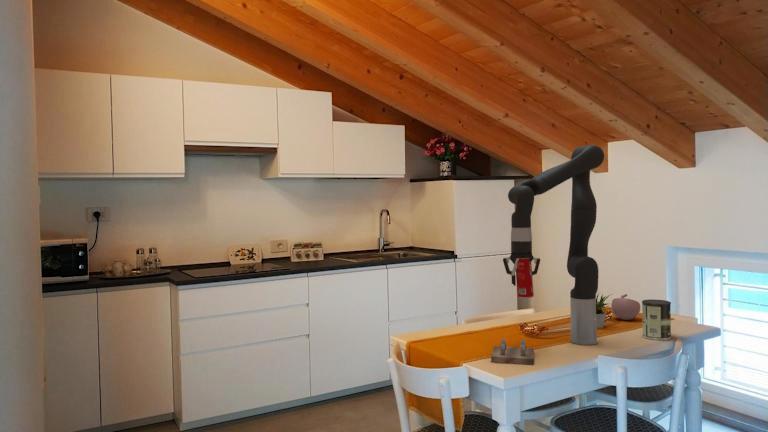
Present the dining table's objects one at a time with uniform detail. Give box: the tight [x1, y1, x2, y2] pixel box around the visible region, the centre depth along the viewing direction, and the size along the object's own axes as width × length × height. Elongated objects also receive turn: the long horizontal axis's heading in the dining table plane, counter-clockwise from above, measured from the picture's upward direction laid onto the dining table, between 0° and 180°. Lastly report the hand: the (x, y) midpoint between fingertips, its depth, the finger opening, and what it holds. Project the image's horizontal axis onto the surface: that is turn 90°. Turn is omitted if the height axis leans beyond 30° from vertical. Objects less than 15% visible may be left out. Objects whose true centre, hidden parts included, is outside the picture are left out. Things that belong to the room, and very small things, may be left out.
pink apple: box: [610, 293, 641, 321], centre depth 255 cm, size 12×12×11 cm
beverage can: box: [515, 258, 535, 299], centre depth 210 cm, size 6×6×15 cm
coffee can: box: [641, 299, 672, 341], centre depth 223 cm, size 10×10×14 cm
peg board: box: [490, 338, 535, 366], centre depth 198 cm, size 14×14×6 cm
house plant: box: [596, 292, 613, 329], centre depth 243 cm, size 14×14×16 cm
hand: (521, 285), depth 211 cm, fingers closed on beverage can, 4 cm apart
